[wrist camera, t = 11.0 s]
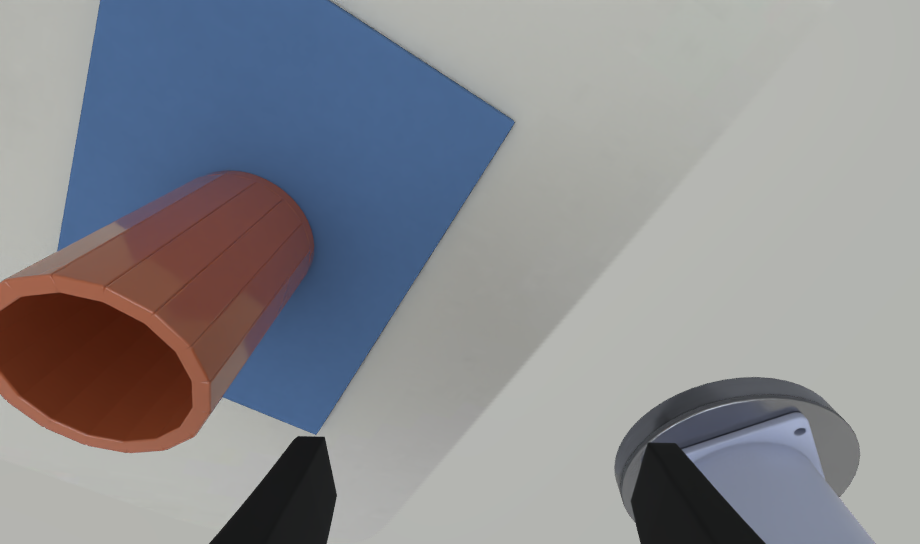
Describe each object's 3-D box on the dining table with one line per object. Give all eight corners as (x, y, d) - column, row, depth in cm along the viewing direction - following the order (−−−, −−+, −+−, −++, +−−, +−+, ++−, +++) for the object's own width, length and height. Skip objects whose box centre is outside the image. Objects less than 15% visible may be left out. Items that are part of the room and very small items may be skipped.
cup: (341, 259, 18) (256, 408, 11) (244, 313, 19) (111, 476, 12) (250, 142, 16) (68, 233, 9) (147, 212, 17) (-82, 340, 10)
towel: (132, -129, 12) (122, -133, 12) (514, 120, 15) (515, 122, 15) (51, 320, 20) (44, 325, 20) (318, 429, 23) (316, 435, 23)
